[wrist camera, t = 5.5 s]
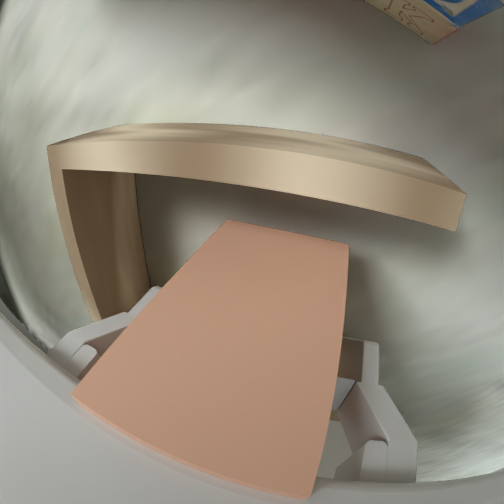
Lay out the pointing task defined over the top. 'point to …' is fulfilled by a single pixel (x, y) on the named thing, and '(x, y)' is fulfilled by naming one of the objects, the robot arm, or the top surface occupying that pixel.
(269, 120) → the top surface
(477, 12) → the stack of blocks
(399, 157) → the oak u-shaped frame
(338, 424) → the pill bottle
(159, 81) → the top surface
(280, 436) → the terracotta block
